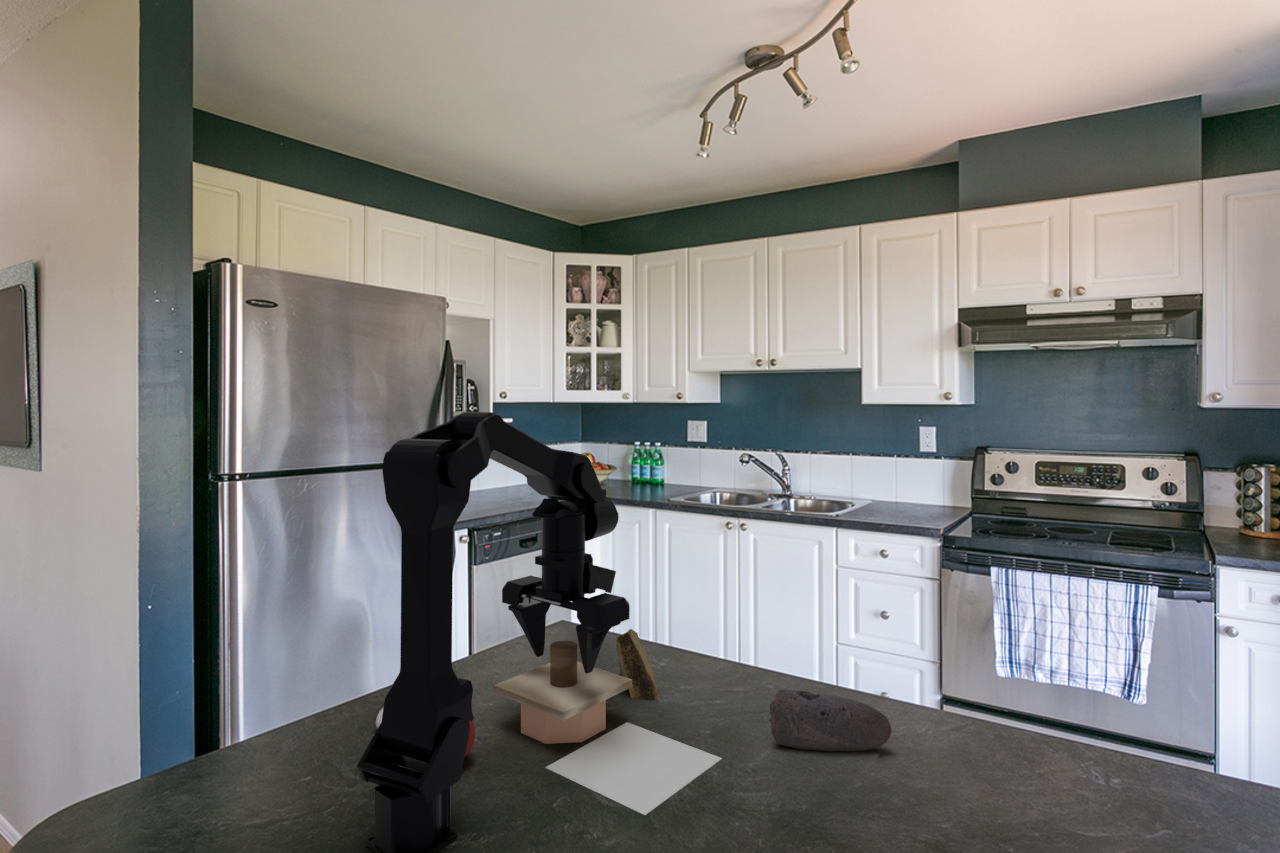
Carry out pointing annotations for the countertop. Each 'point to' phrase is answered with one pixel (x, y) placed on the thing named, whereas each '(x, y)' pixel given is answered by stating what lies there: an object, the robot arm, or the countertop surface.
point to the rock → (636, 666)
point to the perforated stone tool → (826, 722)
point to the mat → (634, 766)
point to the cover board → (562, 696)
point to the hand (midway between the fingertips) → (563, 663)
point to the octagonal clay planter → (563, 725)
